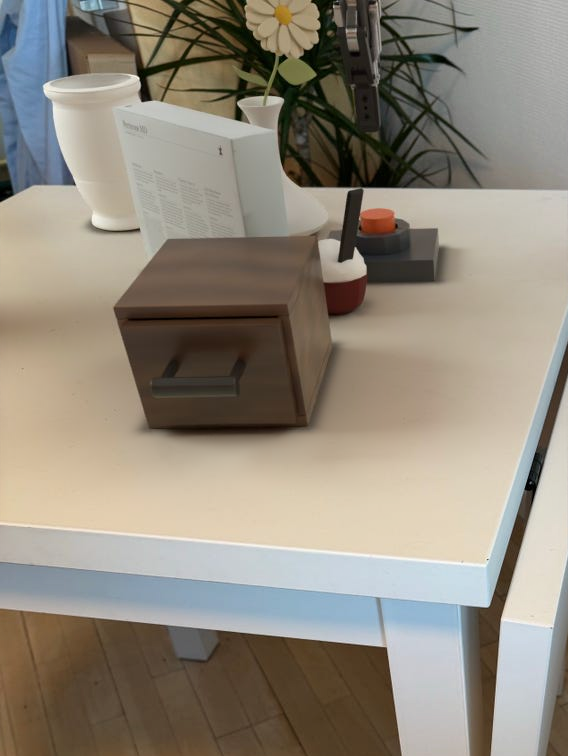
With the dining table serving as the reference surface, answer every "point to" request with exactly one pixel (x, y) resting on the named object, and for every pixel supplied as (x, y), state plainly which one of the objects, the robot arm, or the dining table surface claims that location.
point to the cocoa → (344, 262)
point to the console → (397, 253)
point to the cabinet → (243, 298)
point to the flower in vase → (289, 36)
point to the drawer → (211, 370)
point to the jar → (96, 142)
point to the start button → (377, 221)
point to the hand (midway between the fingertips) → (369, 130)
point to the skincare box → (200, 175)
